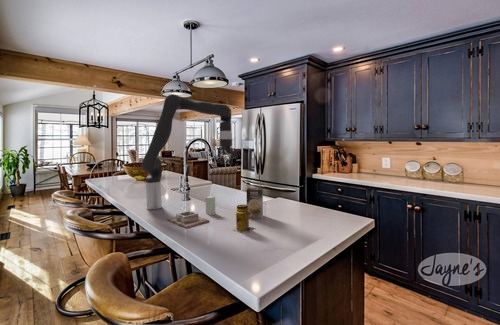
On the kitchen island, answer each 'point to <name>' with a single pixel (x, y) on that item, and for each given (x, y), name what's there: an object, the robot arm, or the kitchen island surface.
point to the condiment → (242, 219)
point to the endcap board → (187, 219)
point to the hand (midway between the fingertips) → (226, 164)
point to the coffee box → (255, 202)
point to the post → (210, 205)
